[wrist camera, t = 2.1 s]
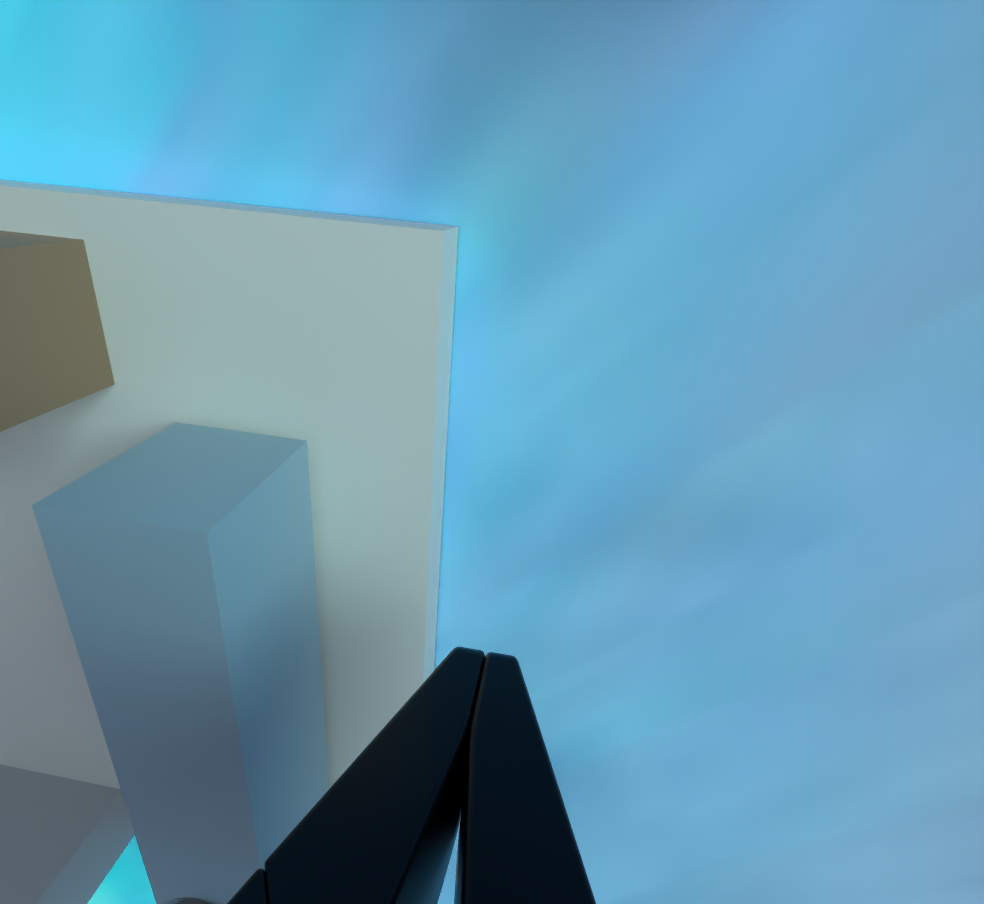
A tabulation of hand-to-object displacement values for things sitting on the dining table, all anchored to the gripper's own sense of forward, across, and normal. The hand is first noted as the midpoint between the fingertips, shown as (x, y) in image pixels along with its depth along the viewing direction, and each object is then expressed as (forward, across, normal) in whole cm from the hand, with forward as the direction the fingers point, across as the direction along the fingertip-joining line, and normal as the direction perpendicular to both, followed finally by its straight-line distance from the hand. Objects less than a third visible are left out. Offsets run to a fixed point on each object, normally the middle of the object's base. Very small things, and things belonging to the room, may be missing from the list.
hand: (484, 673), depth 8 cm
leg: (+3, +5, +4) cm, 7 cm away
